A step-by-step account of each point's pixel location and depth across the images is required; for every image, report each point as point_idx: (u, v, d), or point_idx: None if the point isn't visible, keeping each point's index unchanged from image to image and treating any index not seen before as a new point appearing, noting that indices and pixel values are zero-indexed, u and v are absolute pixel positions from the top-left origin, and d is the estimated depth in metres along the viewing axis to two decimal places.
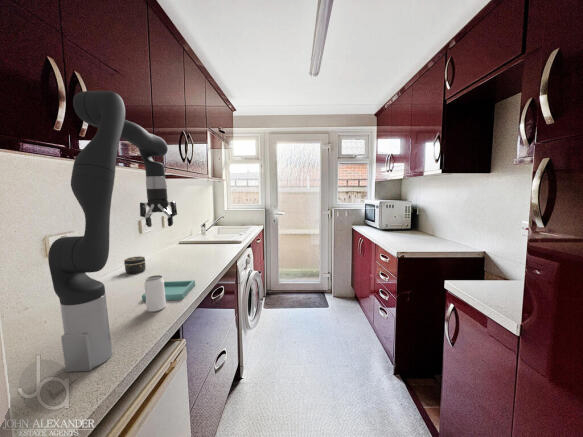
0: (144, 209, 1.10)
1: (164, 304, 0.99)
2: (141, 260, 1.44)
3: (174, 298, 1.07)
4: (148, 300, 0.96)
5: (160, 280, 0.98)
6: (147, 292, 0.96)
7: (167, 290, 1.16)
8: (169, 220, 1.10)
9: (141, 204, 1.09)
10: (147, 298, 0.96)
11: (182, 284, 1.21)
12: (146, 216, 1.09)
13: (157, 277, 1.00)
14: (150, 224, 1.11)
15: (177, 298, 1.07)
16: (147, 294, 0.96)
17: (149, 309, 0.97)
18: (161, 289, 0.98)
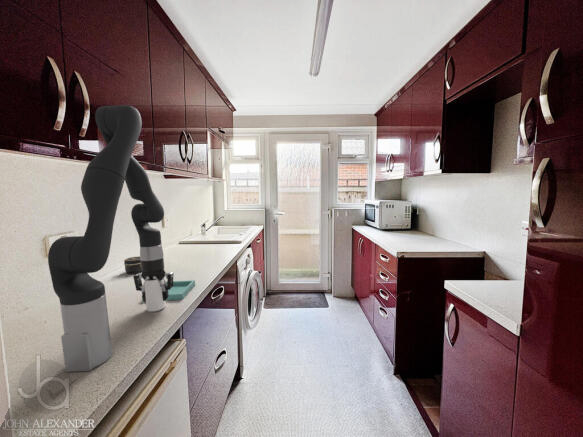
0: (139, 281, 0.98)
1: (164, 304, 0.99)
2: None
3: (174, 298, 1.07)
4: (148, 300, 0.96)
5: None
6: (147, 292, 0.96)
7: None
8: (164, 294, 0.98)
9: (135, 277, 0.97)
10: (147, 298, 0.96)
11: (182, 284, 1.21)
12: (143, 290, 0.98)
13: None
14: None
15: (177, 298, 1.07)
16: (147, 294, 0.96)
17: (149, 309, 0.97)
18: (161, 289, 0.98)
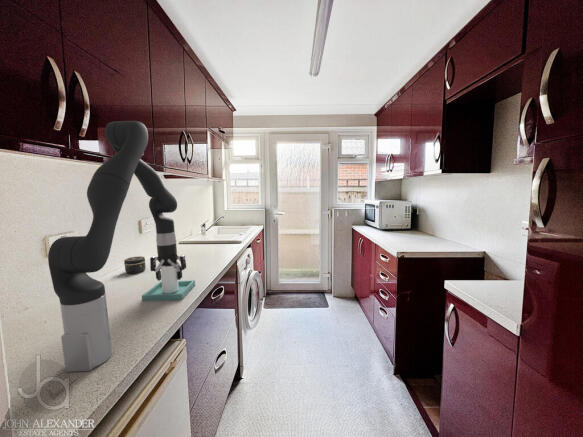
0: (154, 263, 1.13)
1: (177, 288, 1.14)
2: (141, 260, 1.44)
3: (174, 298, 1.07)
4: (164, 283, 1.11)
5: None
6: (164, 276, 1.11)
7: None
8: (179, 274, 1.13)
9: (151, 259, 1.11)
10: (163, 281, 1.11)
11: (182, 284, 1.21)
12: (156, 270, 1.12)
13: None
14: (160, 277, 1.14)
15: (177, 298, 1.07)
16: (163, 278, 1.11)
17: (164, 291, 1.11)
18: (176, 274, 1.13)
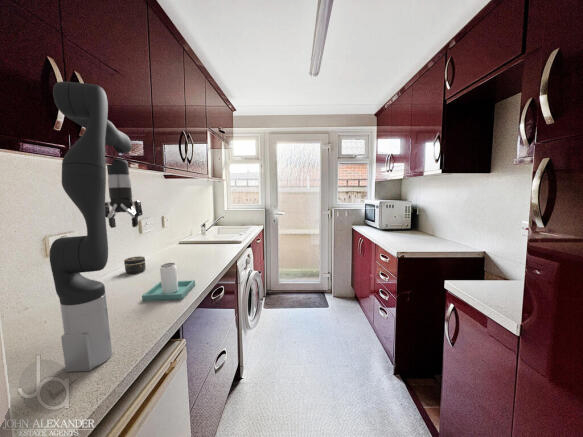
0: (107, 209, 1.05)
1: (177, 288, 1.14)
2: (141, 260, 1.44)
3: (174, 298, 1.07)
4: (164, 284, 1.11)
5: (174, 266, 1.12)
6: (163, 277, 1.10)
7: None
8: (133, 220, 1.05)
9: None
10: (163, 282, 1.11)
11: (182, 284, 1.21)
12: (109, 216, 1.04)
13: (170, 264, 1.14)
14: (114, 225, 1.06)
15: (177, 298, 1.07)
16: (163, 279, 1.11)
17: (164, 292, 1.11)
18: (175, 274, 1.13)
